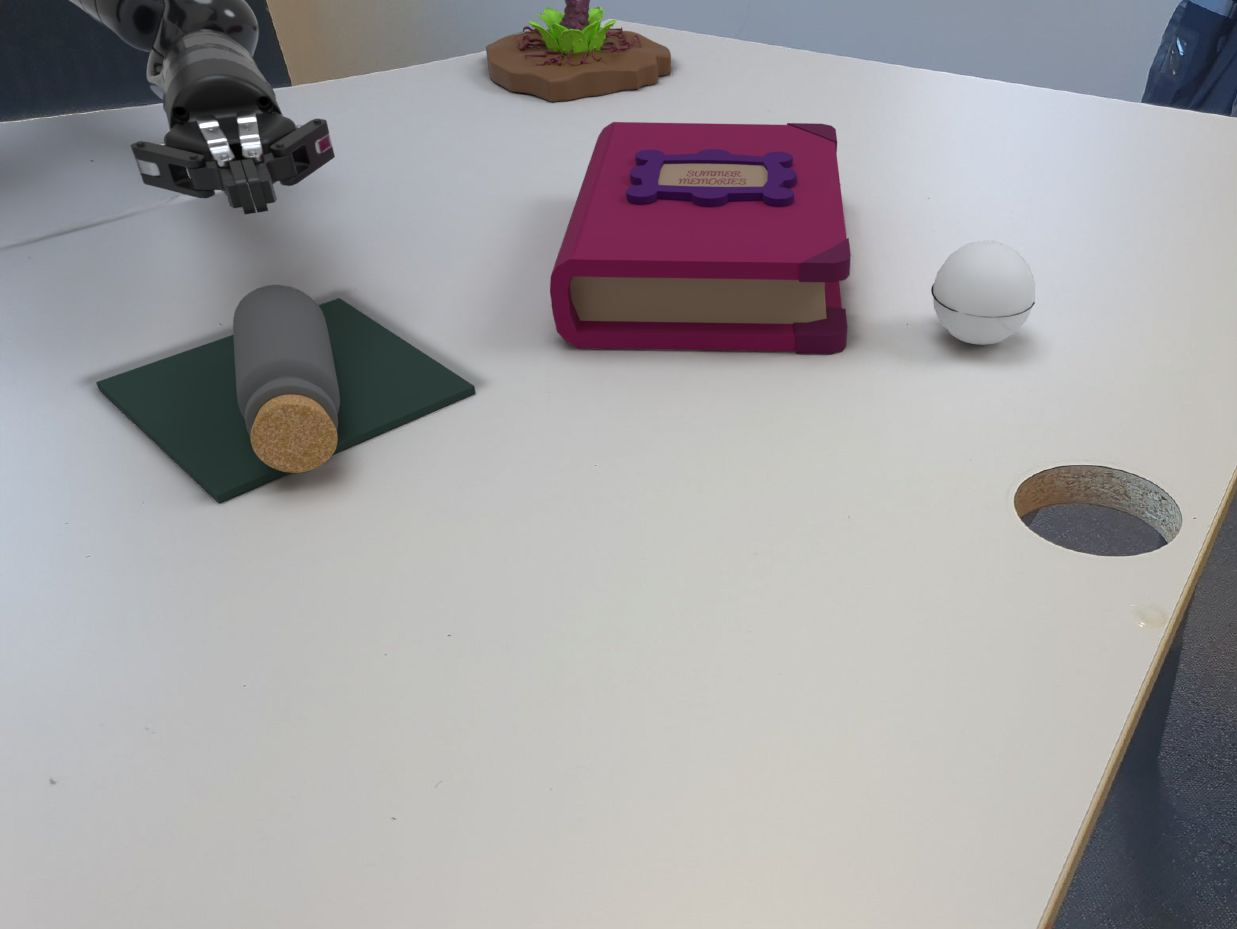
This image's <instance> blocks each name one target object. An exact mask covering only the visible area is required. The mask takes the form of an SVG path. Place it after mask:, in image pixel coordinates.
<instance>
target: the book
mask: <svg viewBox="0 0 1237 929" xmlns="http://www.w3.org/2000/svg"><path fill="white" fill-rule="evenodd" d="M837 152H838V136H837V129H836V128H835V127H834V126H832V125H830V124H825V123H814V122H813V123H808V122H806V123H803V122H787V123H786V124H765V123H764V124H763V123H762V124H759V123H708V122H707V123H704V122H703V123H702V122H701V123H698V122H697V123H696V122H643V121H642V122H639V121H638V122H637V121H612V122H611V123H609V124H608V125H606V126H604V127H603V128H602V129H601V131H600V133H599V134H598V136H597V138H596V142H595V145H594V148H593V150H592V154H591V156H590V160H589V163H588V165H587V168H586V171H585V174H584V177H583V180H582V183H581V185H580V189H579V192H578V193H577V194H578V195H577V197H576V200H575V204H574V206H573V209H572V212H571V215H570V218H569V221H568V224H567V227H566V229H565V233H564V235H563V239H562V241H561V245H560V248H559V250H558V253H557V256H556V260H555V263H554V265H553V268H552V271H551V274H550V282H549V295H550V302H551V311H552V317H553V321H554V324H555V329H556V332H557V334H558V335H559V336H560V337H561V338H562V339H563V340H564V341H565V343H568V344H570V345H572V346H573V347H575V348H577V349H593V350H594V349H595V350H597V349H601V350H602V349H604V350H605V349H606V350H607V349H608V350H662V351H663V350H665V351H667V350H668V351H669V350H673V351H676V350H677V351H731V352H732V351H735V352H736V351H737V352H738V351H739V352H740V351H742V352H743V351H744V352H753V351H754V352H795V355H834V354H837V353H841V352H843V351H844V350H845V349H846V348H847V344H848V343H847V342H848V341H847V340H848V329H849V328H848V319H847V318H848V317H847V310H846V308H844V307H843V302H842V294H841V293H842V291H841V284H840V282H841V281H846V280H847V279H848V278H849V277H850V275H851V260H852V254H851V247H850V246H851V245H850V238H849V237H847V231H846V230H847V229H846V221H845V213H844V204H843V198H842V197H843V196H842V195H843V194H842V188H841V181H840V171H839V163H838V162H839V161H838V154H837Z"/></svg>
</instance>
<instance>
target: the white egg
mask: <svg viewBox="0 0 1237 929" xmlns="http://www.w3.org/2000/svg"><path fill="white" fill-rule="evenodd" d="M930 291H931V295H932V297H933V309H934V312H935V314H936V317H937V318H938V321H939V322H940V324H941V325H942V327H943V328H944V329H945V330H946V331H947V332H948V333H949V334H950V335H951V336H953V337H955V338H956V339H957V340H959V341H962V342H963V343H966V344H967V343H968V344H972V345H983V346H985V345H995V344H997V343H1000V342H1003V341H1004V340H1006V339H1007V338H1009V337H1011V336H1012V335H1014V334H1015V333H1017V332H1018V331H1019V330H1020V329H1021V328H1022V326H1023V325H1024V324H1025V323H1026V321H1027V320H1028V318H1029V316H1030V315H1031V312H1032V309H1033V306H1034V305H1035V303H1036V282H1035V277H1034V274H1033V271H1032V269H1031V266H1030V263H1028V262H1027V260H1026V259H1025V258H1024V257H1023V256H1022V255H1021V254H1020V253H1019V251H1018V250H1017V249H1015V248H1014V247H1012V246H1010V245H1008V244H1005V243H1002V242H1000V241H995V240H979V241H973V242H968V243H966V244H963V245H962V246H961V247H959V248H958V249H957V250H954V251H953V252H952V253H950V254H949V255H948V256H947V258H946V259H945V260H944V262H943V264H942V265H941V266H940V268H939V270H938V271H937V272H936V276H935V279H934V281H933V284H932V285H931V288H930Z"/></svg>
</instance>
